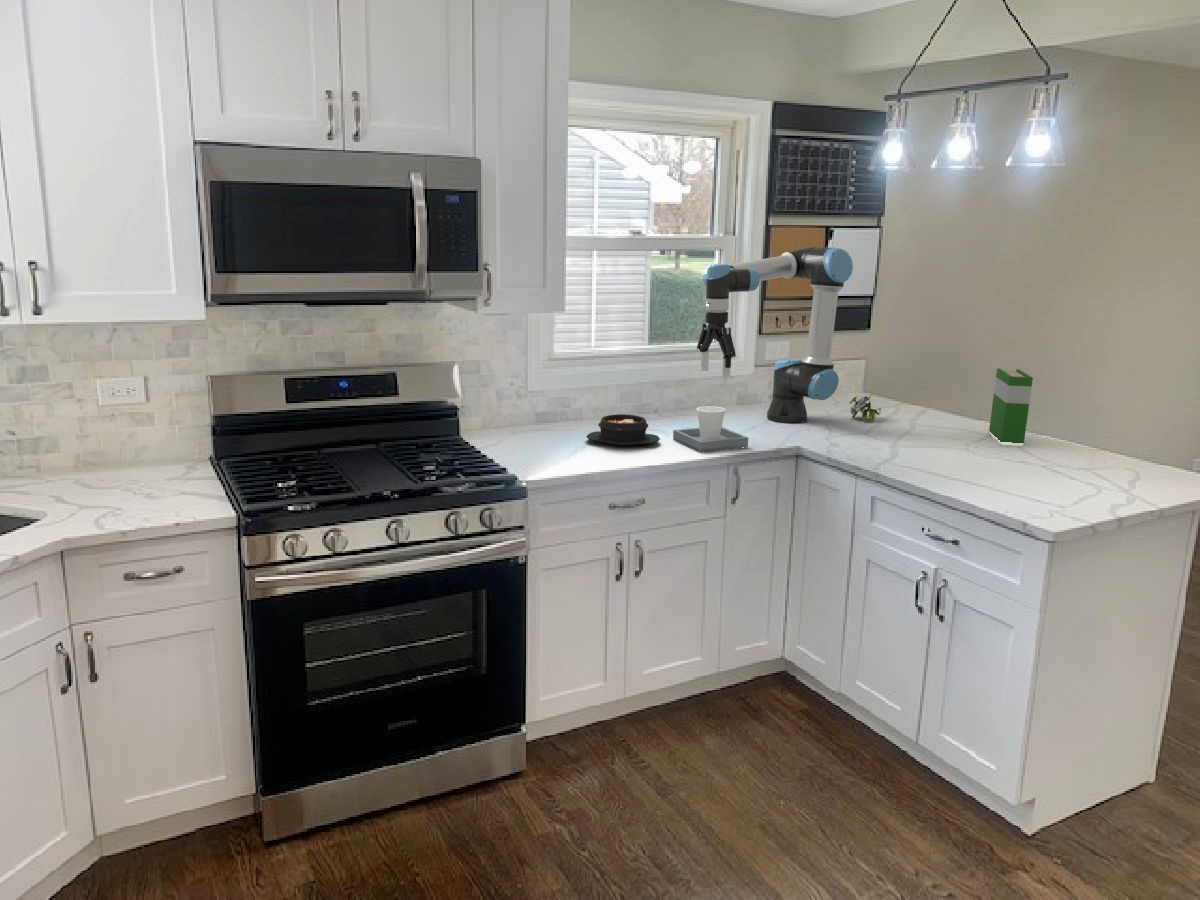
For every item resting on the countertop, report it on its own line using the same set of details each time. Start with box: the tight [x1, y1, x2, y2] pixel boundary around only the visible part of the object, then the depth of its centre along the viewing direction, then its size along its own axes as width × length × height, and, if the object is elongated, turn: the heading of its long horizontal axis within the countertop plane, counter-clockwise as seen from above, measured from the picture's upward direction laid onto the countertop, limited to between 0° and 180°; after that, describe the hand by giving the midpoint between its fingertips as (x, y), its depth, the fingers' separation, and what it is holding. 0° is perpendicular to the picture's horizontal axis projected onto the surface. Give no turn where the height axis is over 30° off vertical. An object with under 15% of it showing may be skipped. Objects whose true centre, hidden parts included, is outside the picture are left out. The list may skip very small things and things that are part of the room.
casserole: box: [586, 413, 661, 447], centre depth 303 cm, size 25×19×8 cm
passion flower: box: [849, 393, 882, 422], centre depth 345 cm, size 11×11×12 cm
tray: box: [672, 426, 749, 453], centre depth 304 cm, size 18×18×4 cm
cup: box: [695, 405, 727, 441], centre depth 303 cm, size 10×10×11 cm
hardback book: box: [988, 367, 1034, 444], centre depth 313 cm, size 18×7×24 cm, turn 169°
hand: (715, 374), depth 305 cm, fingers open, 13 cm apart
